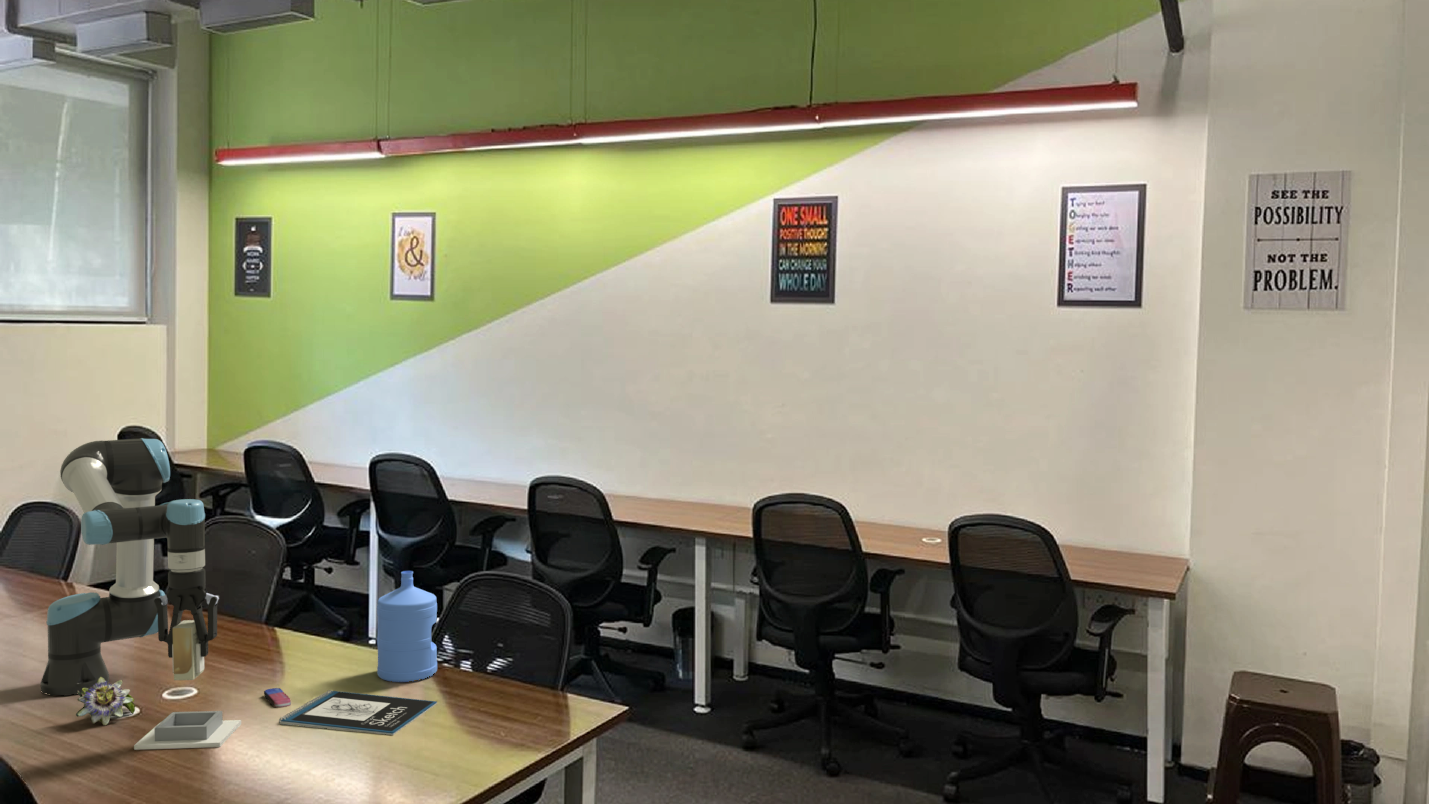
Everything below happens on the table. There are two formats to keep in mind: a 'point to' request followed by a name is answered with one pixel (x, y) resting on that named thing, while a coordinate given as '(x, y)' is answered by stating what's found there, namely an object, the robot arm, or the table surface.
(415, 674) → the water jug
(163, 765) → the table surface
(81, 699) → the passion flower
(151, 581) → the robot arm
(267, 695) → the eraser
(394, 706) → the sketchbook
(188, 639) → the skincare box
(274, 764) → the table surface
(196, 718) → the socket board
